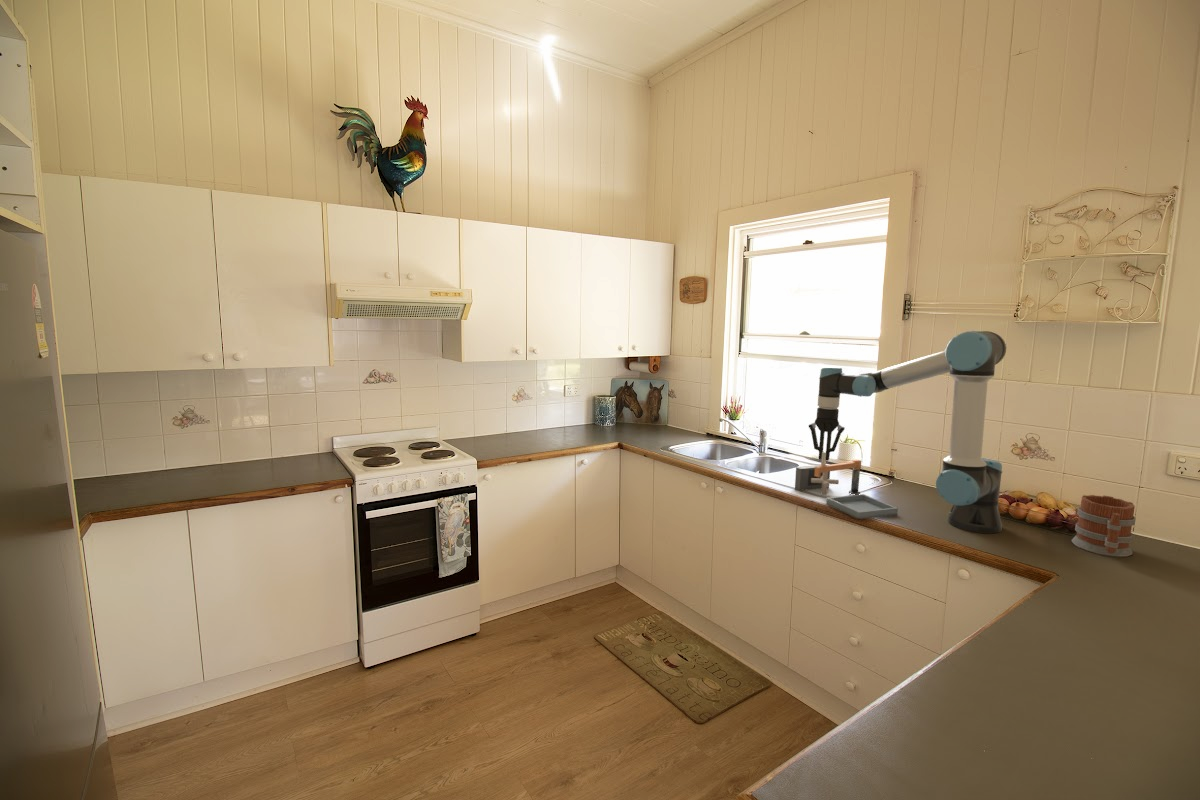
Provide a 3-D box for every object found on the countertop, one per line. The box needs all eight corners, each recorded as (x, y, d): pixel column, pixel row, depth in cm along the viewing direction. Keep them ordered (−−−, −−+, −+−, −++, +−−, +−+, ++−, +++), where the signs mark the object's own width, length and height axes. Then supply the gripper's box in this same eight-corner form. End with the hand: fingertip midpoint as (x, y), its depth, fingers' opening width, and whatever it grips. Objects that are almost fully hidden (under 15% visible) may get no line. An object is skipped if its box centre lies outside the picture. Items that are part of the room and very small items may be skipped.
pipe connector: (839, 498, 219) (841, 473, 217) (812, 496, 221) (814, 471, 219) (834, 490, 229) (836, 466, 227) (808, 489, 230) (810, 464, 229)
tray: (897, 515, 201) (897, 508, 201) (858, 519, 196) (858, 512, 196) (862, 500, 217) (863, 494, 216) (826, 504, 212) (826, 497, 211)
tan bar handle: (862, 471, 223) (863, 461, 222) (819, 477, 213) (820, 466, 212) (855, 469, 225) (856, 459, 225) (812, 475, 216) (813, 464, 215)
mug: (1125, 545, 176) (1132, 498, 174) (1143, 568, 160) (1151, 516, 157) (1067, 536, 183) (1073, 490, 181) (1078, 557, 167) (1085, 507, 165)
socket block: (829, 488, 232) (830, 466, 231) (799, 490, 228) (800, 468, 227) (824, 485, 235) (825, 464, 234) (794, 488, 231) (796, 466, 230)
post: (862, 495, 223) (864, 470, 222) (853, 495, 222) (855, 470, 221) (854, 492, 227) (856, 467, 226) (846, 492, 226) (848, 468, 225)
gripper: (847, 407, 216) (842, 468, 219) (811, 404, 222) (806, 463, 225) (845, 410, 209) (840, 473, 212) (808, 407, 215) (803, 468, 218)
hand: (823, 468), depth 219 cm, fingers closed
